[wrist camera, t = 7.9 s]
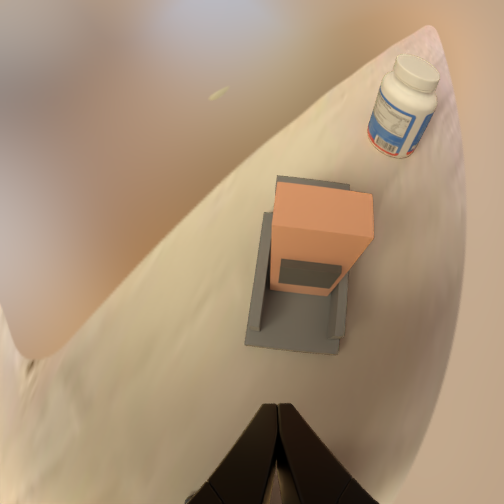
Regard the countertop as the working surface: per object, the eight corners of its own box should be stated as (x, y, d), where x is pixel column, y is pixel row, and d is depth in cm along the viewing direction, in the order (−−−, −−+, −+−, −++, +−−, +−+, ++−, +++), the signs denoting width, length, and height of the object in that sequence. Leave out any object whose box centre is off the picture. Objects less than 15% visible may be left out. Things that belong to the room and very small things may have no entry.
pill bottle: (400, 121, 28) (428, 53, 19) (421, 159, 26) (460, 90, 17) (357, 121, 28) (378, 46, 19) (376, 161, 26) (409, 83, 17)
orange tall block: (326, 302, 20) (374, 247, 11) (269, 295, 20) (270, 234, 11) (329, 269, 21) (372, 194, 12) (273, 262, 21) (277, 181, 12)
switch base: (334, 354, 20) (359, 351, 14) (245, 345, 20) (237, 338, 15) (343, 227, 23) (363, 186, 18) (264, 218, 24) (262, 174, 18)
